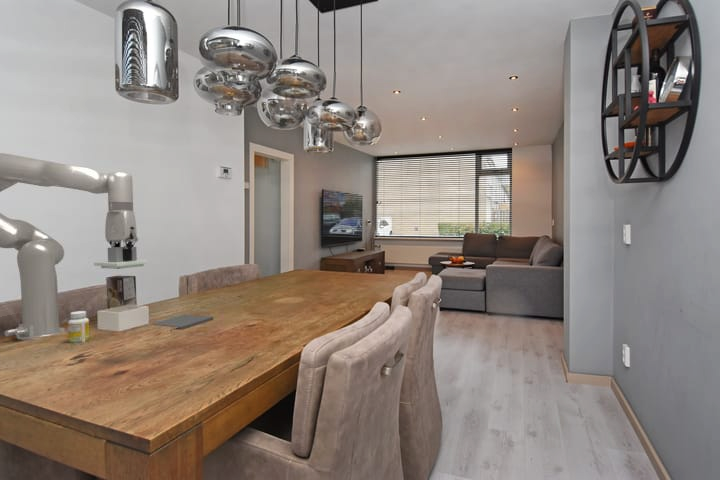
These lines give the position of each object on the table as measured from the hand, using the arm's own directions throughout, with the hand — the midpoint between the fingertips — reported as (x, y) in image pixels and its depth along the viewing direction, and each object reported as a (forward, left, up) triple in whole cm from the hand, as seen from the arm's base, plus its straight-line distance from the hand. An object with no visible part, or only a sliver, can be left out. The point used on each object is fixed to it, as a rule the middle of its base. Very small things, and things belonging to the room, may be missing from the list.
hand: (122, 259), depth 144 cm
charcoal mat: (+13, -14, -24) cm, 31 cm away
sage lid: (0, 0, -3) cm, 3 cm away
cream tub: (0, 0, -24) cm, 24 cm away
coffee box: (+14, +18, -24) cm, 33 cm away
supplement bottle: (-18, -3, -24) cm, 31 cm away
